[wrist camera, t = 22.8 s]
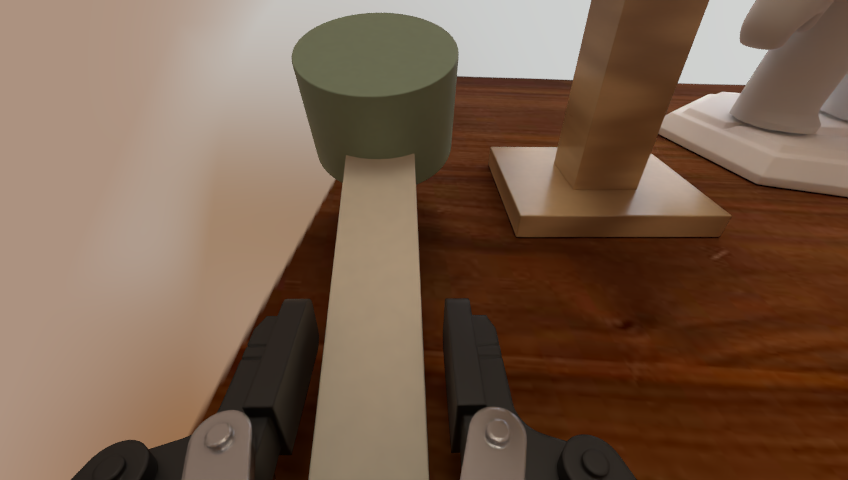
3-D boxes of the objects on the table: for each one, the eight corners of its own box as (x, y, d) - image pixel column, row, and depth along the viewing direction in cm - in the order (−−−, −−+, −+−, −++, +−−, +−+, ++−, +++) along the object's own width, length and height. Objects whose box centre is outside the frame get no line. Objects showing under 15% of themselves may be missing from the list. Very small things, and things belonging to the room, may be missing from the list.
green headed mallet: (247, 525, 10) (139, 526, 6) (326, 100, 22) (305, 8, 18) (500, 510, 11) (548, 504, 7) (444, 98, 23) (449, 6, 19)
